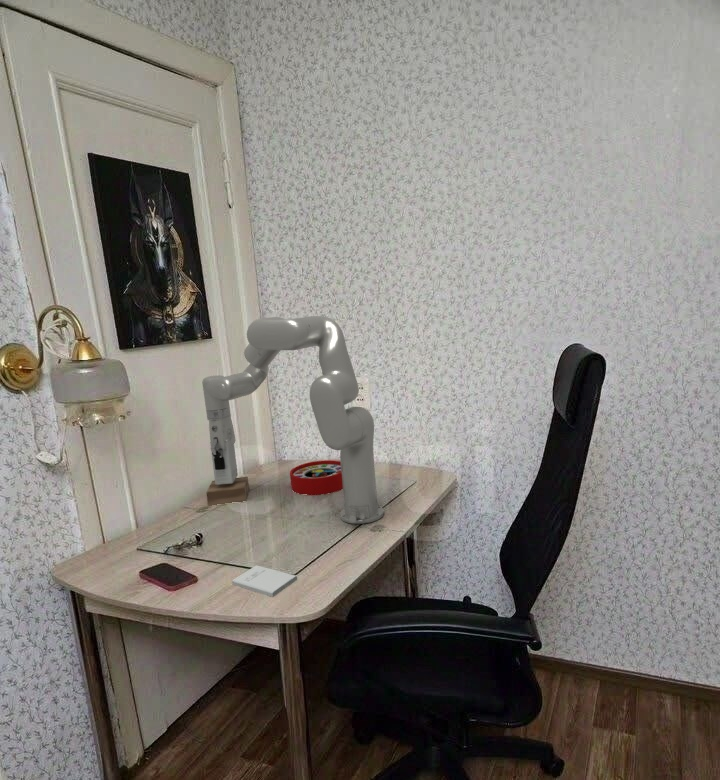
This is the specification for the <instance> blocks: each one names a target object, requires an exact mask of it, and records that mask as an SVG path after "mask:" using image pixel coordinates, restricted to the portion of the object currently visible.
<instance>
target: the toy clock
mask: <svg viewBox="0 0 720 780" xmlns="http://www.w3.org/2000/svg"><path fill="white" fill-rule="evenodd" d="M289 477H290V487H291V491H292V490H293V491H294V492H293V491H292V492H293V493H295V492H296V493H295V494H297V493H299V494H298V495H301V494H307V495H306V496H322V495H321V494H324V495H329V494H328V493H330V494H333V492H334V493H336V492H340V491H343V484H342V474H341V462H340V461H339V460H331V459H330V460H329V459H328V460H326V459H325V460H316V461H309V462H306V463H302V464H300V465H299V464H298V465H297V466H295V467H293V468H292V469H290V471H289Z"/></svg>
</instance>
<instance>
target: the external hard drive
mask: <svg viewBox="0 0 720 780" xmlns="http://www.w3.org/2000/svg"><path fill="white" fill-rule="evenodd" d="M297 580H298V576H297V575H295V574H291V573H287V572H283V571H279V570H277V569H272V568H269V567H265V566H260V565H257V564H256V565H254V566H253V567H251V568H250V569H248V570H246V571H245V572H243V573H241V574H240V575H238V576H237V577H235V578H234V579H232V581H231V583H232V585H233V586H237V587H240V588H244V589H246V590H250V591H253V592H254V593H255V592H256V593H258V592H259V593H260V594H262V595H265V596H269V597H272V598H274V597H275V596H276V595H277V594H279V593H281V592H282V591H283V590H284V589H286V588H287V587H288V586H289V587H290V585H292V584H293V583H295V581H297Z"/></svg>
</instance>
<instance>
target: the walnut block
mask: <svg viewBox="0 0 720 780" xmlns="http://www.w3.org/2000/svg"><path fill="white" fill-rule="evenodd" d="M248 492H250V485H249V477H248V476H241V477H236V479H235V480H234V482H233V483H231V484H218V485H216V484H215V480H211V482H210V484H209V487H208V488H207V490H206V500H207V507H213V506H212V505H216V506H218V505H217V504H224V505H226V504H225V503H232V502H241V503H244V502H243V501H246V502H247V500H246V499H248V496H249V493H248ZM247 495H248V496H247Z"/></svg>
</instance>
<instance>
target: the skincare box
mask: <svg viewBox="0 0 720 780" xmlns="http://www.w3.org/2000/svg"><path fill="white" fill-rule="evenodd" d="M229 440H230V439H227V440H226V446H227V449H226V450H224V449H223V457H224V462H225V469H223V470H216V469H215V463H214V458H213V455H212V454H211V459H212V467H213V474H214V481H215V484H216V485H218V484H231V483H233V482H234V480H235V479H236V478H238V475H239V474H238V468H237V466H238V465H237V458H236V448H235V443H234V444H233V445H232V446H231V444H230V441H229ZM209 444H210V445H209V446H211V441H210V442H209ZM216 448H221V447H220V445H219V443H218V444H217V447H216ZM210 451H211V450H210ZM217 451H218V452H219V453H220V450H217ZM211 453H212V451H211Z"/></svg>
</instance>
